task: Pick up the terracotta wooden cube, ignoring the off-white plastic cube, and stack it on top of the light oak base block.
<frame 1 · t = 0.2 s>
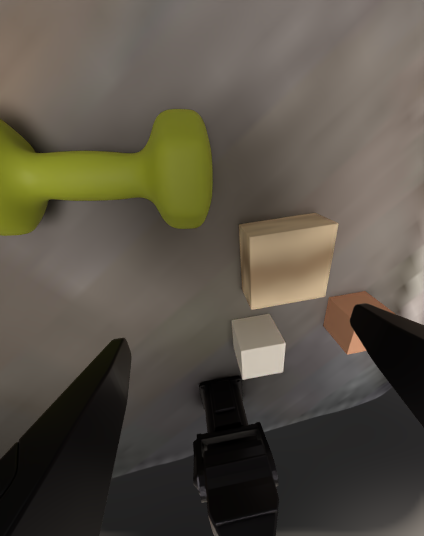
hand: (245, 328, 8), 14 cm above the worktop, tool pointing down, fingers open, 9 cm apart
offwhite cube: (250, 330, 29), on the worktop
oak base block: (274, 252, 24), on the worktop
terracotta cube: (343, 308, 29), on the worktop
dumbbell: (108, 171, 18), on the worktop
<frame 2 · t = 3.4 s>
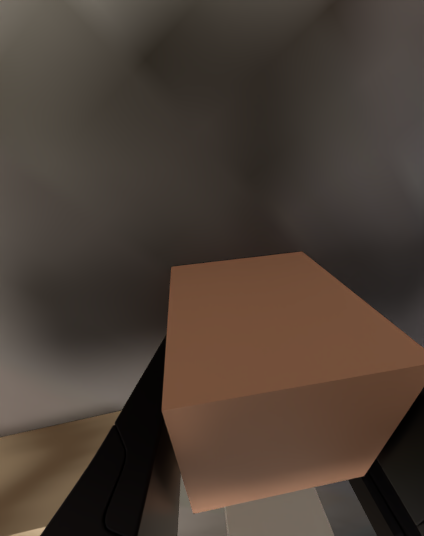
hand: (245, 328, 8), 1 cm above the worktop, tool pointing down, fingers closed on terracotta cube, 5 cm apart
offwhite cube: (252, 447, 16), on the worktop
oak base block: (80, 454, 13), on the worktop
terracotta cube: (238, 311, 9), on the worktop, touching gripper
when the fingers open (6 cm above the worktop, at t = 7.3 s): terracotta cube drops 2 cm, point 4 cm above the worktop.
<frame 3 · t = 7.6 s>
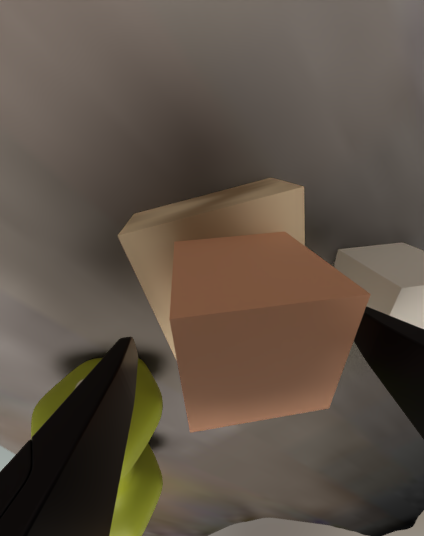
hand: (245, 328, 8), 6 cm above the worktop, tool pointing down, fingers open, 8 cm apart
offwhite cube: (360, 275, 17), on the worktop
oak base block: (216, 255, 14), on the worktop
terracotta cube: (231, 284, 11), point 4 cm above the worktop
dumbbell: (123, 407, 21), on the worktop
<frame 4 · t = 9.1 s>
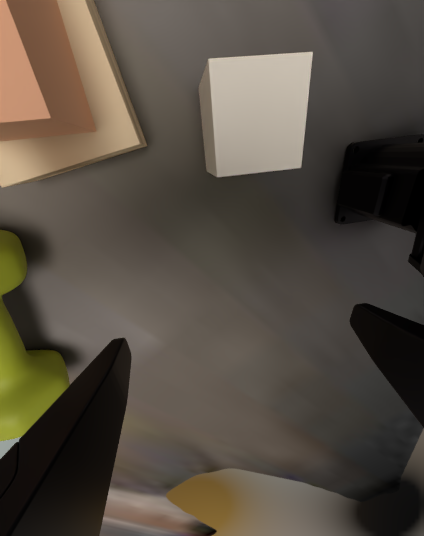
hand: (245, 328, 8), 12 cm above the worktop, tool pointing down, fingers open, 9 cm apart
offwhite cube: (236, 129, 15), on the worktop
oak base block: (60, 94, 13), on the worktop, touching terracotta cube
terracotta cube: (21, 73, 10), point 4 cm above the worktop, touching oak base block
dumbbell: (22, 307, 20), on the worktop
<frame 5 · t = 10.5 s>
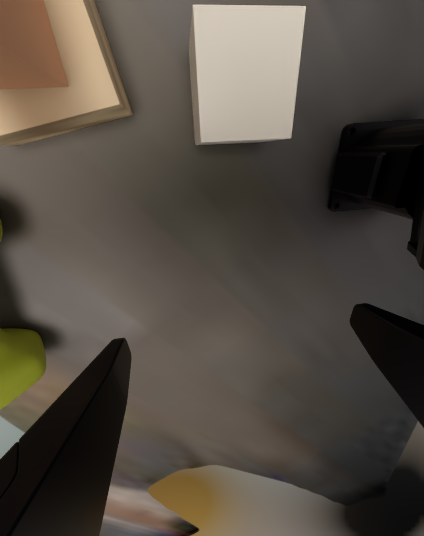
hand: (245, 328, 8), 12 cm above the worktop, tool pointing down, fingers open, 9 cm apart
offwhite cube: (228, 101, 15), on the worktop
oak base block: (41, 52, 13), on the worktop
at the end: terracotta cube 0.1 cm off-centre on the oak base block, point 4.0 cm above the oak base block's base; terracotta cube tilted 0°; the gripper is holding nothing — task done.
